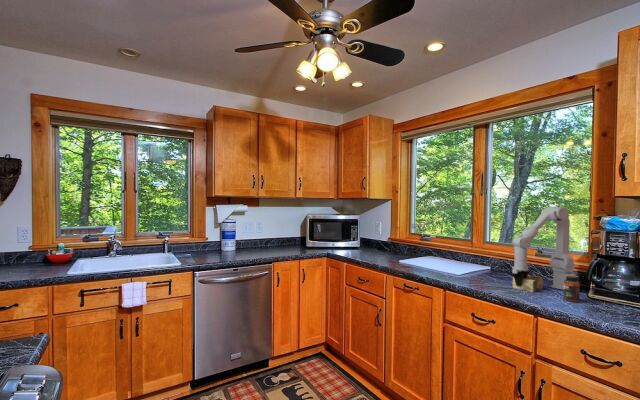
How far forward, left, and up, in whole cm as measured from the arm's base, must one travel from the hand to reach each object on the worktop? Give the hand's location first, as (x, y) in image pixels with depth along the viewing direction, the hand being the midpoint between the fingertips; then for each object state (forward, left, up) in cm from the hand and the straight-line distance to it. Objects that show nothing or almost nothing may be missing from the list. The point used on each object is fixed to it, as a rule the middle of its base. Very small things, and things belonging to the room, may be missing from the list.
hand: (520, 285), depth 163 cm
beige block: (-2, 0, -2) cm, 3 cm away
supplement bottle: (-22, +1, -2) cm, 22 cm away
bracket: (-2, -8, -2) cm, 9 cm away
